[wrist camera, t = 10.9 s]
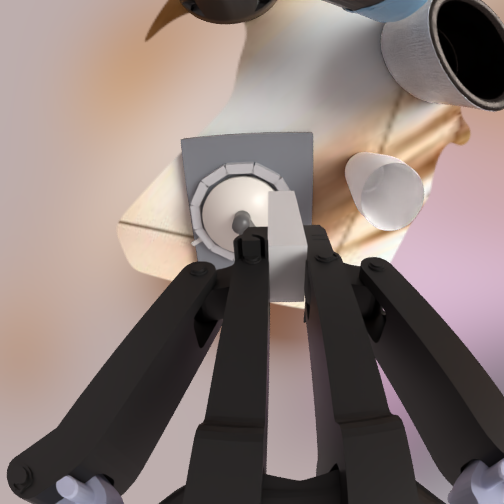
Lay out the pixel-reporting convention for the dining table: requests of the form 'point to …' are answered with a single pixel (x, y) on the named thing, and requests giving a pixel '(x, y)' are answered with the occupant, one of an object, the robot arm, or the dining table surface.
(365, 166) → the cup
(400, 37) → the planter
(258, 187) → the dial
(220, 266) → the panel
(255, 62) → the dining table surface
